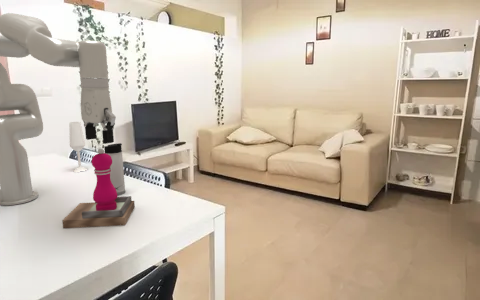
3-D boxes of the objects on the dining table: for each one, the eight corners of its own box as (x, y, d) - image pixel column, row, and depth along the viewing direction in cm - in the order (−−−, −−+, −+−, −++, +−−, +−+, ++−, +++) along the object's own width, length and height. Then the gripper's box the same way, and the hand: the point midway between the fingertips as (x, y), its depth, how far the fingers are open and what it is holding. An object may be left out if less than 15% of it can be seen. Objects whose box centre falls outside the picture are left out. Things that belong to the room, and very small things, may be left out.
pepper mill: (95, 215, 98) (88, 152, 93) (93, 207, 104) (87, 147, 100) (119, 210, 101) (114, 149, 97) (117, 203, 107) (111, 145, 103)
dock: (63, 228, 95) (61, 214, 94) (80, 209, 108) (79, 197, 107) (125, 225, 97) (123, 211, 96) (134, 207, 110) (133, 195, 109)
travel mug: (120, 196, 121) (116, 145, 117) (105, 195, 123) (100, 144, 118) (129, 190, 127) (125, 142, 123) (114, 189, 128) (110, 141, 124)
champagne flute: (71, 170, 158) (66, 122, 152) (86, 167, 161) (81, 121, 156) (74, 173, 152) (68, 123, 147) (89, 170, 156) (84, 122, 151)
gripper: (68, 84, 96) (73, 139, 100) (98, 85, 86) (103, 146, 90) (91, 84, 102) (96, 136, 106) (123, 85, 92) (127, 142, 96)
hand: (99, 140), depth 98 cm, fingers open, 9 cm apart
